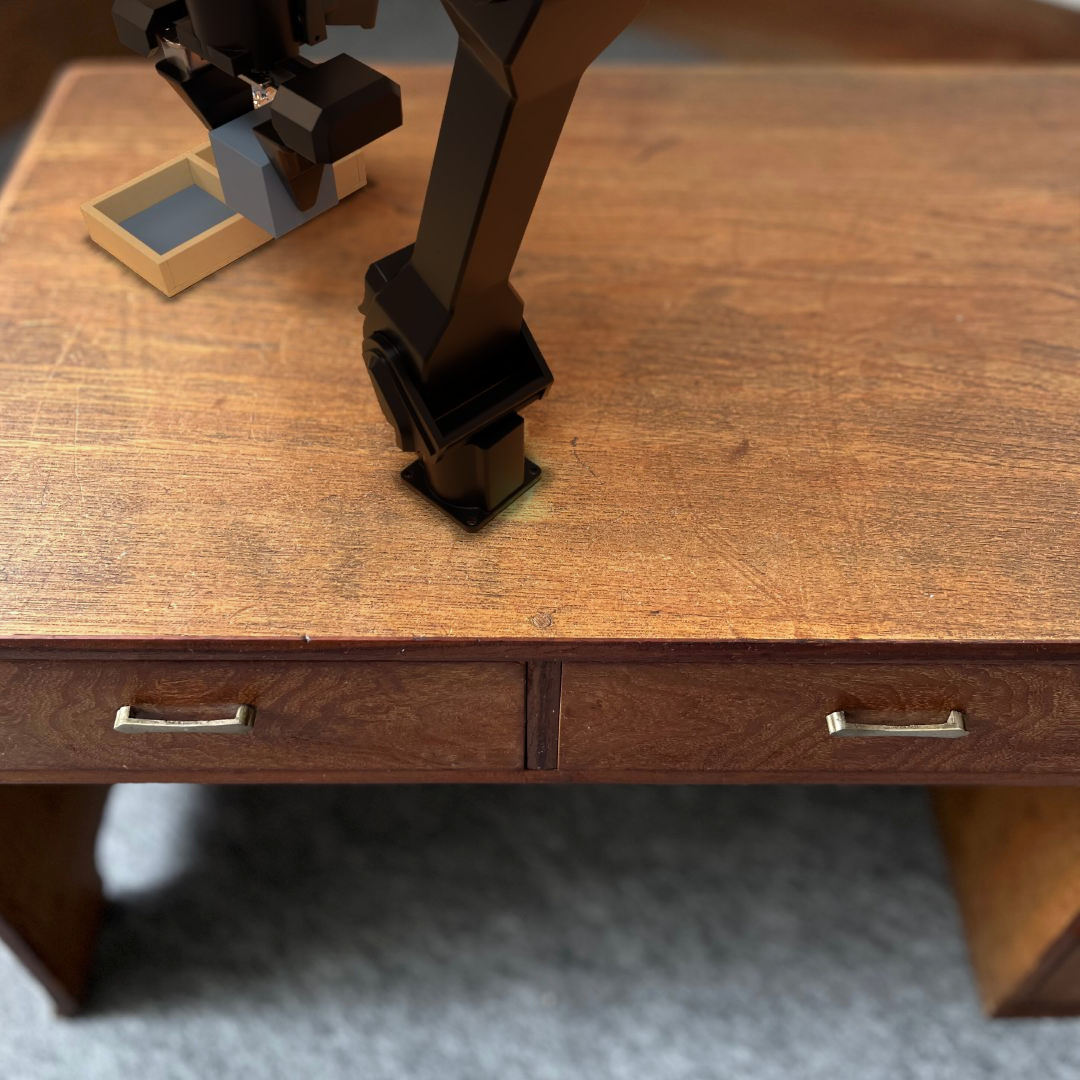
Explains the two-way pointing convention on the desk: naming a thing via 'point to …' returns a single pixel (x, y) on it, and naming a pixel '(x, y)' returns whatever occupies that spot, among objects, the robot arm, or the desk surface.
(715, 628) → the desk surface
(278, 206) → the blue block
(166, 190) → the tray
